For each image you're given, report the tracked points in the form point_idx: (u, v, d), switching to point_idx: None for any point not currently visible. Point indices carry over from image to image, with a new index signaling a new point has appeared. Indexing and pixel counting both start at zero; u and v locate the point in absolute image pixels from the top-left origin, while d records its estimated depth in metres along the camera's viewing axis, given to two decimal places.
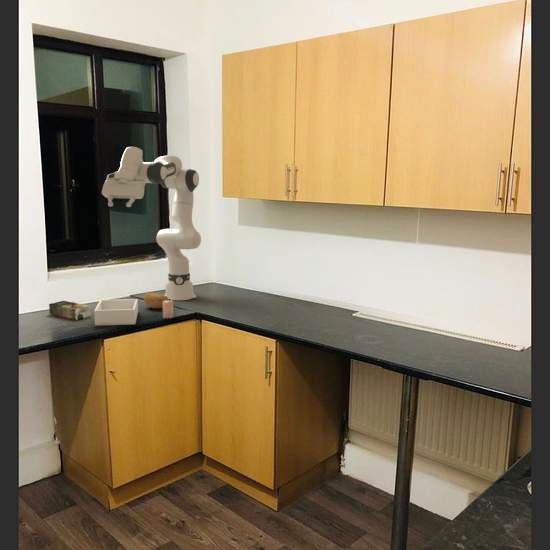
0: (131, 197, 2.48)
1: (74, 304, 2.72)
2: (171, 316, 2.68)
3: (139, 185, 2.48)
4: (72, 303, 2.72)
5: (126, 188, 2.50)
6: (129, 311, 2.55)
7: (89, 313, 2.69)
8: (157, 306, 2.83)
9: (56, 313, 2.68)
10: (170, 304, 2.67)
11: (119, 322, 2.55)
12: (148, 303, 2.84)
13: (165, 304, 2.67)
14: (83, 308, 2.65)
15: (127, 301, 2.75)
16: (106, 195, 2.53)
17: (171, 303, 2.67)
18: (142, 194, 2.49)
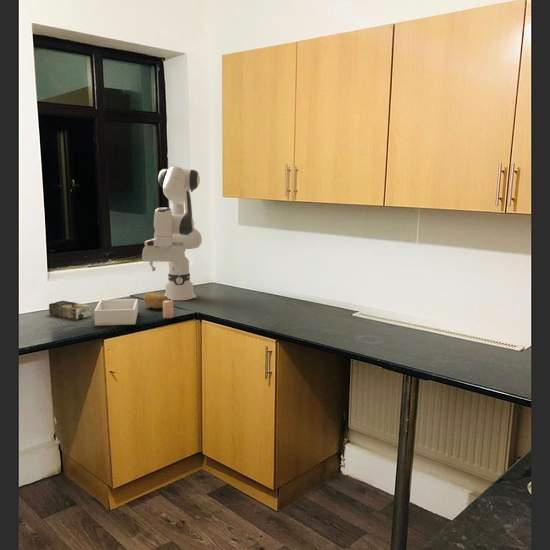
0: (176, 262, 2.63)
1: (73, 304, 2.72)
2: (171, 316, 2.68)
3: (182, 251, 2.62)
4: (72, 303, 2.72)
5: (169, 254, 2.62)
6: (129, 311, 2.55)
7: (89, 313, 2.69)
8: (157, 306, 2.83)
9: (56, 313, 2.68)
10: (170, 304, 2.67)
11: (119, 322, 2.55)
12: (148, 303, 2.84)
13: (165, 304, 2.67)
14: (83, 308, 2.66)
15: (127, 301, 2.75)
16: None
17: (171, 303, 2.67)
18: None
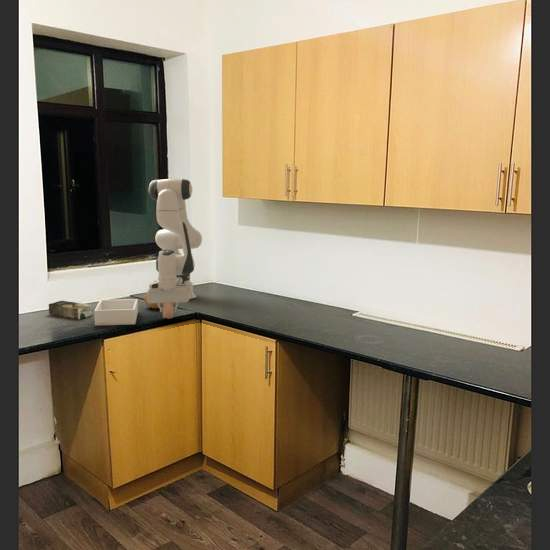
0: (177, 303, 2.69)
1: (74, 303, 2.73)
2: (171, 316, 2.68)
3: (186, 292, 2.68)
4: (72, 303, 2.73)
5: (173, 295, 2.67)
6: (129, 311, 2.55)
7: (90, 312, 2.70)
8: (157, 306, 2.83)
9: (56, 313, 2.68)
10: (170, 304, 2.67)
11: (119, 322, 2.55)
12: (148, 303, 2.84)
13: (165, 304, 2.67)
14: (85, 307, 2.67)
15: (127, 301, 2.75)
16: (151, 302, 2.67)
17: (171, 303, 2.67)
18: None
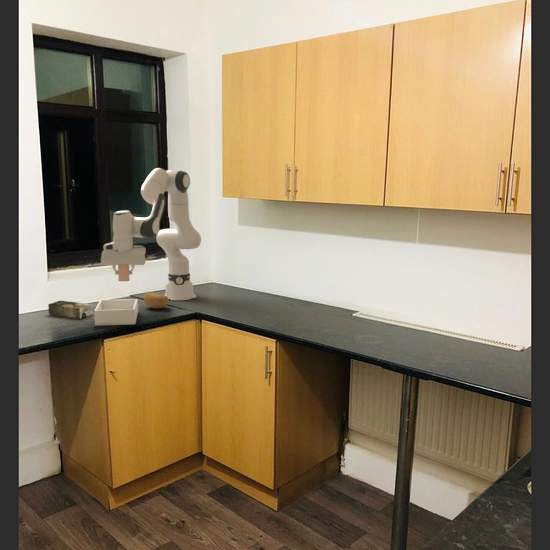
0: (132, 266, 2.61)
1: (73, 303, 2.73)
2: (127, 279, 2.61)
3: (142, 254, 2.60)
4: (72, 303, 2.73)
5: (128, 257, 2.60)
6: (129, 311, 2.55)
7: (91, 312, 2.72)
8: (157, 306, 2.83)
9: (57, 313, 2.68)
10: (125, 266, 2.59)
11: (119, 322, 2.55)
12: (148, 303, 2.84)
13: (120, 266, 2.59)
14: (86, 307, 2.68)
15: (127, 301, 2.75)
16: None
17: (127, 265, 2.60)
18: None
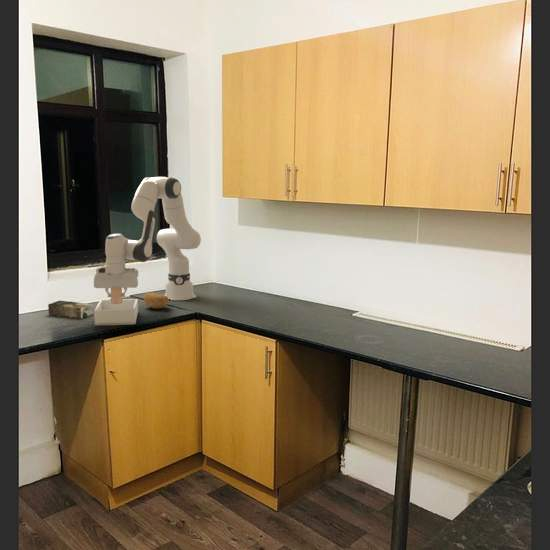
0: (125, 289, 2.63)
1: (73, 303, 2.73)
2: (119, 301, 2.62)
3: (134, 277, 2.62)
4: (71, 303, 2.74)
5: (121, 280, 2.61)
6: (129, 311, 2.55)
7: (91, 311, 2.72)
8: (157, 306, 2.83)
9: (57, 313, 2.69)
10: (118, 289, 2.61)
11: (119, 322, 2.55)
12: (148, 303, 2.84)
13: (112, 289, 2.61)
14: (87, 306, 2.69)
15: (127, 301, 2.75)
16: (99, 287, 2.61)
17: (119, 288, 2.61)
18: None
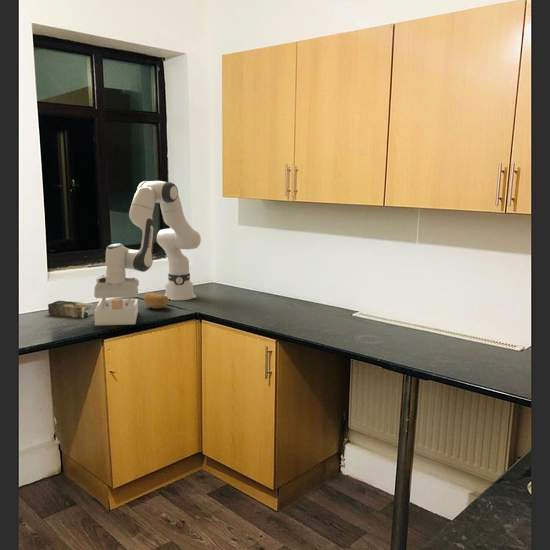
0: (129, 298, 2.64)
1: (73, 303, 2.74)
2: None
3: (135, 287, 2.63)
4: (71, 302, 2.74)
5: (121, 290, 2.62)
6: (129, 311, 2.55)
7: (92, 311, 2.73)
8: (157, 306, 2.83)
9: (57, 313, 2.69)
10: (119, 303, 2.62)
11: (119, 322, 2.55)
12: (148, 303, 2.84)
13: (113, 303, 2.62)
14: (87, 306, 2.69)
15: (127, 301, 2.75)
16: (99, 297, 2.62)
17: (120, 302, 2.63)
18: None
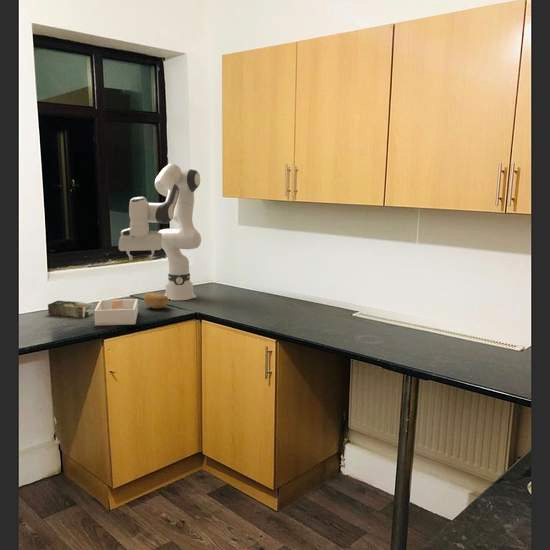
0: (152, 251, 2.68)
1: (73, 303, 2.74)
2: None
3: (158, 239, 2.66)
4: (71, 302, 2.74)
5: (145, 243, 2.66)
6: (129, 311, 2.55)
7: (92, 310, 2.74)
8: (157, 306, 2.83)
9: (57, 313, 2.69)
10: (119, 303, 2.62)
11: (119, 322, 2.55)
12: (148, 303, 2.84)
13: (113, 303, 2.62)
14: (88, 306, 2.70)
15: (127, 301, 2.75)
16: (124, 250, 2.66)
17: (120, 302, 2.63)
18: (161, 245, 2.69)
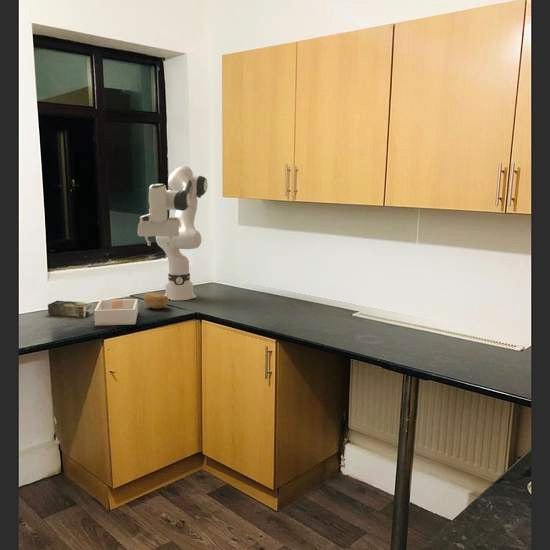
0: (170, 237, 2.72)
1: (73, 302, 2.74)
2: None
3: (176, 226, 2.71)
4: (71, 302, 2.75)
5: (164, 229, 2.70)
6: (129, 311, 2.55)
7: (92, 310, 2.75)
8: (157, 306, 2.83)
9: (58, 313, 2.69)
10: (119, 303, 2.62)
11: (119, 322, 2.55)
12: (148, 303, 2.84)
13: (113, 303, 2.62)
14: (88, 305, 2.71)
15: (127, 301, 2.75)
16: None
17: (120, 302, 2.63)
18: None
